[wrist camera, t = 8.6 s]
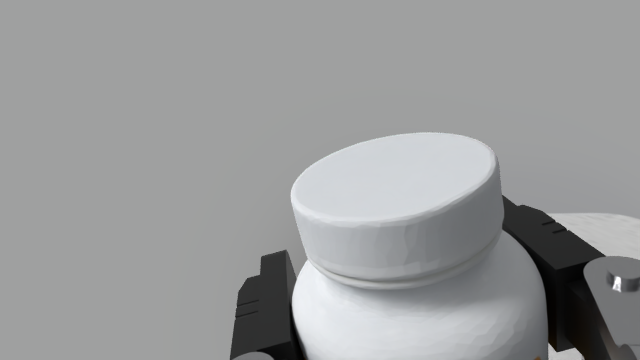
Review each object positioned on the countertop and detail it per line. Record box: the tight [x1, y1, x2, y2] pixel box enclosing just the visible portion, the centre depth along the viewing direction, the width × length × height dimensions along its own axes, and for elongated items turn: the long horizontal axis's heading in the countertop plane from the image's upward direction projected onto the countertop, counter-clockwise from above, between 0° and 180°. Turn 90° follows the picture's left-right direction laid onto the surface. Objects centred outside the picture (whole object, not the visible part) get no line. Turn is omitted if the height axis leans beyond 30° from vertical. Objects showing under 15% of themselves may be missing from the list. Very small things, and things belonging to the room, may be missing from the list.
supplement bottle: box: [291, 132, 548, 360], centre depth 10 cm, size 5×5×10 cm
